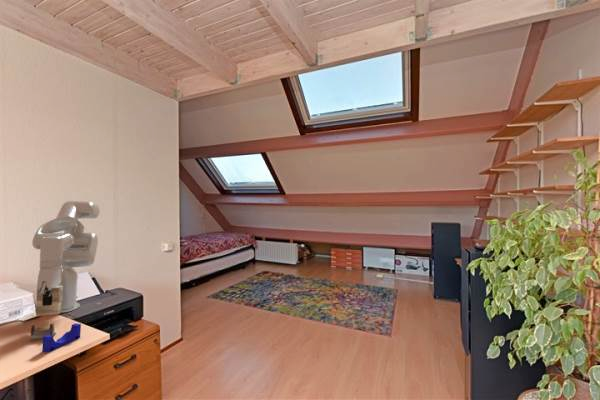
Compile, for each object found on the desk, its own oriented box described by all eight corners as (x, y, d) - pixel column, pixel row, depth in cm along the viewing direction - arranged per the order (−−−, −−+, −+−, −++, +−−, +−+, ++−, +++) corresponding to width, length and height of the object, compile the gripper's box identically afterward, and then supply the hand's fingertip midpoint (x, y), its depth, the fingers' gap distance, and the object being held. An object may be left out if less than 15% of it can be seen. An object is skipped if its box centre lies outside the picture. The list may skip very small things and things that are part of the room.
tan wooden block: (39, 312, 121) (40, 286, 121) (61, 311, 124) (62, 285, 123) (35, 315, 118) (37, 288, 118) (58, 314, 121) (59, 287, 121)
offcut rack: (35, 336, 114) (36, 322, 114) (55, 334, 116) (56, 320, 116) (29, 341, 110) (30, 326, 110) (50, 339, 113) (51, 325, 113)
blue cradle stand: (72, 336, 116) (72, 322, 116) (80, 338, 115) (80, 324, 115) (39, 351, 104) (40, 335, 104) (47, 353, 103) (48, 337, 103)
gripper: (50, 259, 127) (49, 297, 127) (29, 268, 112) (27, 312, 112) (70, 258, 130) (68, 296, 130) (51, 268, 114) (49, 310, 114)
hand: (49, 303), depth 121 cm, fingers closed on tan wooden block, 3 cm apart
